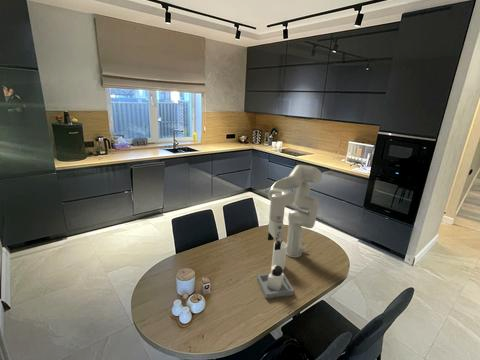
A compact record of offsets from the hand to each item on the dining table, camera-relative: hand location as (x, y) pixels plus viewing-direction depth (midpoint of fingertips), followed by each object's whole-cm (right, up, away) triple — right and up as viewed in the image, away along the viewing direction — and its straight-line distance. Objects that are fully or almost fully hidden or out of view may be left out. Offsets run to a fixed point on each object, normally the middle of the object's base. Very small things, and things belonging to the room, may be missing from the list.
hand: (273, 244), depth 141 cm
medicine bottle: (+1, -24, +4) cm, 25 cm away
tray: (+1, -25, +4) cm, 25 cm away
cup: (+6, -20, +22) cm, 30 cm away
